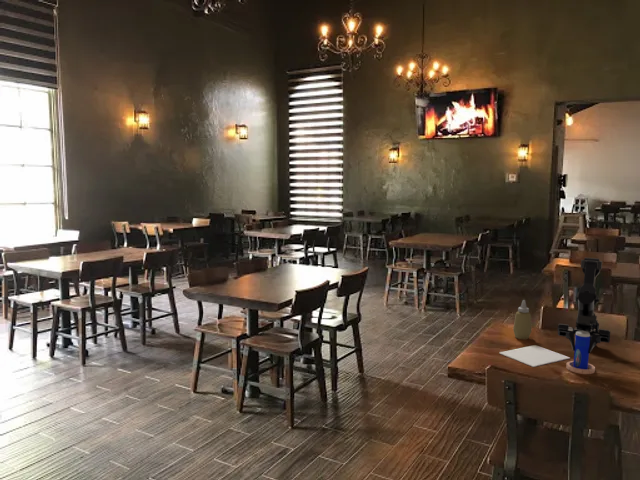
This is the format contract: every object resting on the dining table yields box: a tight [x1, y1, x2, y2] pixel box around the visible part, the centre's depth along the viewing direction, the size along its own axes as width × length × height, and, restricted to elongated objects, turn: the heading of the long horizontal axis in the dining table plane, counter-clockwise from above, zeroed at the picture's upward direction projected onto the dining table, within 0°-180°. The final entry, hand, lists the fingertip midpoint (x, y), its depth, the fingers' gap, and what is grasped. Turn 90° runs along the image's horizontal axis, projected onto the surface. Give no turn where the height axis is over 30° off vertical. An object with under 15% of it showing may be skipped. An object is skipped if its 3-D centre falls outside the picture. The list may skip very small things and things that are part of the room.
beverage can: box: [572, 331, 590, 369], centre depth 209 cm, size 5×5×15 cm
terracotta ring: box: [565, 360, 596, 375], centre depth 210 cm, size 10×10×2 cm
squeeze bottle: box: [512, 299, 532, 340], centre depth 248 cm, size 8×8×18 cm
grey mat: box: [498, 344, 571, 368], centre depth 225 cm, size 22×18×1 cm
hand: (581, 351), depth 208 cm, fingers closed on beverage can, 5 cm apart
